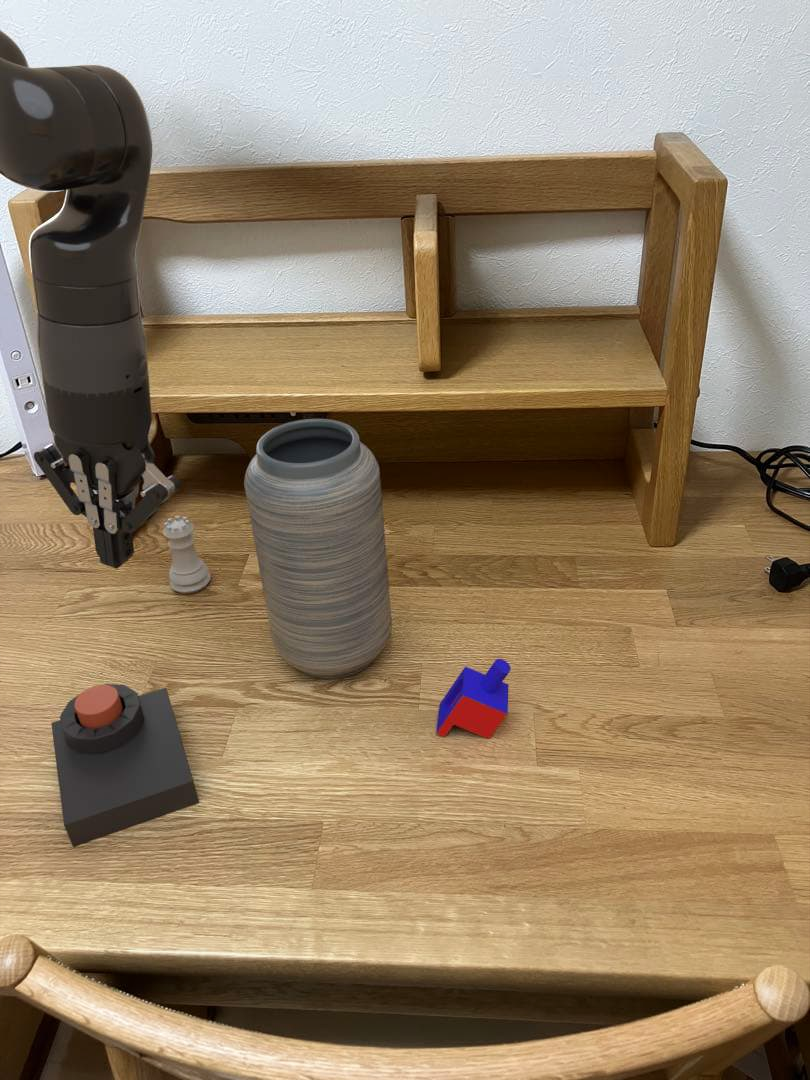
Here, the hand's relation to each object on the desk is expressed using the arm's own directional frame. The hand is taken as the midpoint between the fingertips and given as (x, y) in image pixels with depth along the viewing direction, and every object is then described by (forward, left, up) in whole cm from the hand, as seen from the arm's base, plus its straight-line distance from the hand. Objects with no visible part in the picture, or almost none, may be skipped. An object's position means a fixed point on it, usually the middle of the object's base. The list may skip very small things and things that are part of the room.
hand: (116, 561), depth 76 cm
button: (+1, -7, -11) cm, 13 cm away
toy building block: (+30, +6, -15) cm, 34 cm away
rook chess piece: (-6, +16, -15) cm, 23 cm away
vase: (+14, +11, -15) cm, 23 cm away
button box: (+4, -9, -15) cm, 18 cm away
